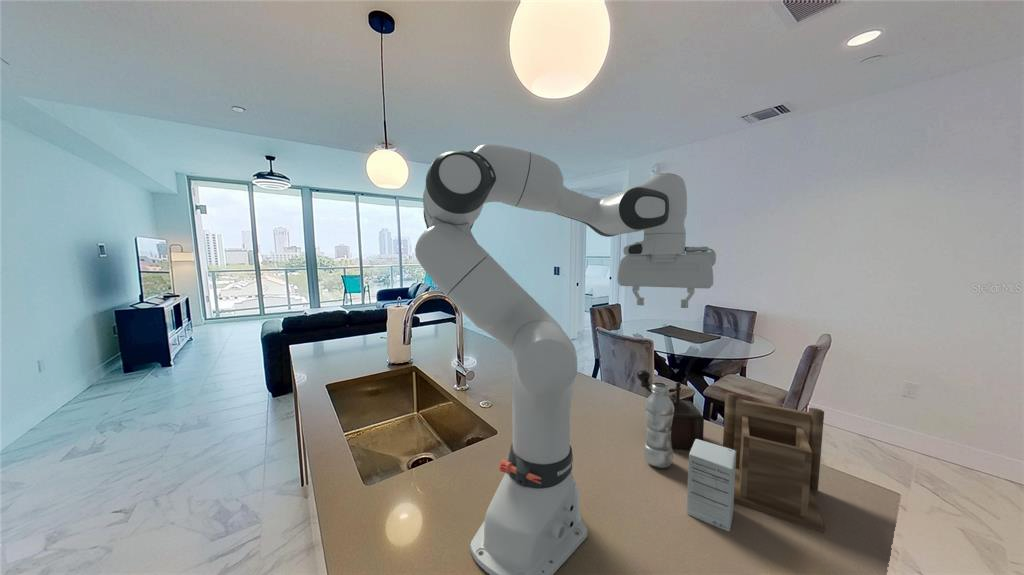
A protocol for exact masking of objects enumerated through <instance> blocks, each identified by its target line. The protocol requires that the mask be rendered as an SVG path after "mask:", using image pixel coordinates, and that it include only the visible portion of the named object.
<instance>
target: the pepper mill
mask: <svg viewBox="0 0 1024 575" xmlns="http://www.w3.org/2000/svg"><path fill="white" fill-rule="evenodd" d="M636 378H637V379H638V380H639V381H640V386H641V387H642V388H644V389H645V390H647V391H648V392H649V393H652V392H651V389H652V388H650V387H651V383H650V381H649V380H650V378H651V373H650V372H649V371H648V370H645V369H640V370H639V371H637V372H636ZM681 386H682V383H681V382H680V381H677V382H675V387H674V388H669V394H670V393H675V394H672V395H671V397H669V398H670V399H671V401H672V403H673V405H674V415H673V420H672V428H671V443H672V450H679V451H682V450H683V451H691V448H692V446H693V444H694V441H695V439H699V440H702V441H704V427H705V426H704V425H705V418H704V415H703V414H702V413H701V412H700V411H699V410H698V408H697V407H696V405H695V404H694V403H693V402H692V401H691V400H683V399H681V398H680V397H681V396H680V395H681V390H682V387H681Z"/></svg>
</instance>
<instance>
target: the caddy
mask: <svg viewBox="0 0 1024 575" xmlns="http://www.w3.org/2000/svg"><path fill="white" fill-rule="evenodd" d="M738 395H739V394H736V393H733V392H725V394H724V396H725V397H724V399H725V400H724V418H723V435H722V437H723V438H722V446H723V447H726V448H729V449H732V450H735V451H736V466H735V486H734V504H735V503H736V504H738V505H742V506H745V507H747V508H750V509H753V510H756V511H759V512H762V513H765V514H768V515H771V516H773V517H774V516H775V517H777V518H780V519H783V520H786V521H788V522H792V523H795V524H798V525H800V526H804V527H806V528H810V529H813V530H816V531H819V532H821V533H825V531H826V527H825V524H824V522H823V518H822V515H821V512H820V508H819V507H818V504H817V500H816V497H815V495H817V494H818V493H819V481H820V472H821V471H820V470H821V469H820V468H821V467H820V466H821V458H822V456H821V455H822V446H823V445H822V444H823V432H824V431H823V430H824V419H825V411H824V410H822V409H820V408H817V407H808V411H804V410H799V409H795V408H794V409H793V408H789V407H788V408H787V407H783V406H777V405H773V404H767V403H762V402H758V401H757V402H756V401H752V400H745V399H741V398H738Z"/></svg>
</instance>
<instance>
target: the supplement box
mask: <svg viewBox="0 0 1024 575" xmlns="http://www.w3.org/2000/svg"><path fill="white" fill-rule="evenodd" d="M735 466H736V451H735V450H732V449H729V448H726V447H723V445H720V444H719V445H718V444H715V443H713V442H708V441H705V440H703V441H702V440H699V439H695V441H694V444H693V446H692V448H691V450H689V454H688V467H687V468H688V470H687V497H686V514H688V515H689V516H691V517H694V518H696V519H697V520H700V521H702V522H704V523H707V524H709V525H712V526H713V527H716V528H718V529H720V530H723V531H726V532H727V533H729V532H731V527H732V521H733V517H734V516H733V514H734V506H735V505H734V504H735V502H734V486H735Z"/></svg>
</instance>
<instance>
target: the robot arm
mask: <svg viewBox="0 0 1024 575" xmlns="http://www.w3.org/2000/svg"><path fill="white" fill-rule="evenodd" d="M492 202H493V203H494V202H495V203H502V204H505V205H508V206H511V207H515V208H518V209H524V210H528V211H536V212H542V213H543V212H544V213H551V214H555V215H558V216H561V217H565V218H568V219H571V220H573V221H576V222H580V223H583V224H584V225H586V226H587V227H589V228H590V229H591V230H593V231H594V232H595V233H596V234H598V235H600V236H602V237H604V238H605V237H606V238H607V237H609V238H610V237H615V236H619V235H623V234H630V233H637V232H641V231H643V240H642V241H637V242H635V243H632V244H629V245H625V246H624V247H623V255H624V256H623V257H622V258H621V259H620V261H619V264H618V270H617V279H616V280H617V283H618V285H619V287H632V290H631V291H632V292H633V295H634V296H635V298H636V306H644V305H645V297H641V295H640V294H639V292H638V291H640V287H644V288H645V287H648V288H673V289H674V288H676V289H677V288H678V289H679V288H680V289H686V292H687V293H688V294H687V296H686V297H685V299H684V298H683V299H680V303H681V304H680V308H682V309H683V308H684V309H688V308H689V301H690V300H691V298H692V297H693V296H694V294H695V289H710V288H712V286H713V285H714V270H713V267H714V266H715V264H716V261H717V259H716V258H717V253H716V251H715V250H714V249H713V248H710V247H709V246H686V241H687V240H686V237H687V236H686V235H687V232H686V231H687V230H686V227H685V220H686V217H687V215H688V214H687V213H688V212H687V210H688V193H687V186H686V182H685V180H684V178H683V177H682V176H679V175H678V174H675V173H663V172H662V173H656V174H652V175H651V176H650V177H649V178H648V179H647V180H645V181H644V182H641V183H640V184H637V185H635V186H632V187H630V188H629V187H628V188H627V189H625V190H624V189H623V190H621V191H619V192H616V193H613V194H611V195H607V196H602V197H592V196H588V195H586V194H583V193H580V192H578V191H575V190H573V189H569V188H568V187H566V186H565V185H564V176H563V172H562V170H561V168H560V167H559V165H558V163H556V162H554V161H552V160H551V159H549V158H548V157H546V156H543V155H541V154H538V153H535V152H531V151H528V150H524V149H521V148H517V147H514V146H513V147H512V146H506V145H500V144H489V143H485V144H484V143H483V144H481V145H478V146H477V147H476V148H475V149H474V150H471V151H469V150H468V151H466V150H451V151H450V150H449V151H446V152H443V153H441V154H439V155H438V156H437V157H436V158H435V159H434V160H433V161H432V163H431V164H430V166H429V167H428V170H427V172H426V177H425V186H424V190H423V195H422V204H423V219H424V222H425V226H426V230H423V232H422V234H421V235H420V236H419V238H418V239H417V242H416V243H415V244H416V245H415V249H414V250H415V251H414V252H415V258H416V260H417V262H419V264H420V266H421V267H422V269H423V271H425V273H426V274H427V276H428V277H429V278H430V279H431V281H432V282H433V283H434V285H435V286H437V288H438V289H439V290H440V292H442V293H443V294H444V295H445V297H446V298H448V299H449V300H450V301H451V302H452V303H453V305H455V306H456V308H458V310H460V311H461V312H462V313H463V314H464V316H466V317H467V318H468V319H469V320H470V321H471V322H472V323H473V324H474V326H476V327H477V328H478V329H480V330H482V331H484V332H485V333H487V334H488V335H490V336H491V337H492V338H493V339H494V340H496V341H497V342H499V343H500V344H501V345H502V346H503V347H505V349H507V350H508V352H509V353H510V354H511V376H512V377H511V379H512V380H511V382H512V383H511V386H512V387H511V390H512V393H511V395H512V397H511V398H512V400H511V401H512V402H511V403H512V407H511V408H512V415H511V416H512V417H511V418H512V419H511V420H512V442H511V445H510V448H509V452H508V458H507V459H502V460H501V461H500V462H499V465H498V466H499V467H498V470H499V471H500V472H502V473H504V475H503V477H502V479H501V481H500V483H499V485H498V487H497V489H496V491H495V493H494V495H493V497H492V499H491V501H490V503H489V505H488V508H487V510H486V512H485V516H484V521H483V522H482V524H481V525H480V527H479V528H478V530H477V532H476V533H475V535H474V537H473V538H472V539H471V542H470V547H469V550H470V554H471V556H472V558H473V560H474V561H475V562H476V564H478V566H479V567H481V569H483V570H484V572H486V573H487V574H489V575H555V573H556V572H557V571H558V570H559V568H560V567H561V566H562V565H563V564H564V563H565V562H566V561H567V560H568V558H570V557H571V555H572V554H573V553H574V552H575V551H576V550H577V548H578V547H579V546H580V545H581V544H582V543H583V542H584V541H585V540H586V539H587V537H588V528H587V526H586V525H585V523H584V522H583V520H582V519H581V505H580V502H581V501H580V489H579V486H578V484H577V482H576V480H575V478H574V475H573V473H572V470H573V462H574V461H573V460H574V455H573V450H572V449H573V448H572V446H571V409H572V400H573V396H574V391H575V390H574V389H575V382H576V376H577V372H578V356H577V355H578V354H577V350H576V347H575V345H574V343H573V341H572V339H571V338H569V335H568V334H567V333H566V332H565V331H564V329H563V327H561V325H560V324H559V322H557V320H555V319H554V317H552V316H551V315H550V314H549V312H548V311H546V310H545V309H544V307H543V306H541V305H540V304H539V303H538V302H537V301H536V299H535V298H534V297H532V296H531V294H529V293H528V292H527V291H526V290H525V289H524V288H523V287H522V286H521V285H520V283H518V282H517V281H516V280H515V279H514V278H513V277H512V276H511V274H509V273H508V272H507V271H506V270H505V269H504V268H503V267H502V266H501V265H500V264H499V262H497V261H496V259H494V257H492V255H490V253H489V252H488V251H486V249H484V248H483V247H482V246H481V245H480V244H479V243H478V241H477V239H475V238H476V237H475V236H474V235H473V232H472V228H473V226H474V223H475V222H476V221H477V219H478V218H479V217H480V215H481V212H482V210H483V208H484V205H485V204H486V203H487V204H488V203H492Z"/></svg>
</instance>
